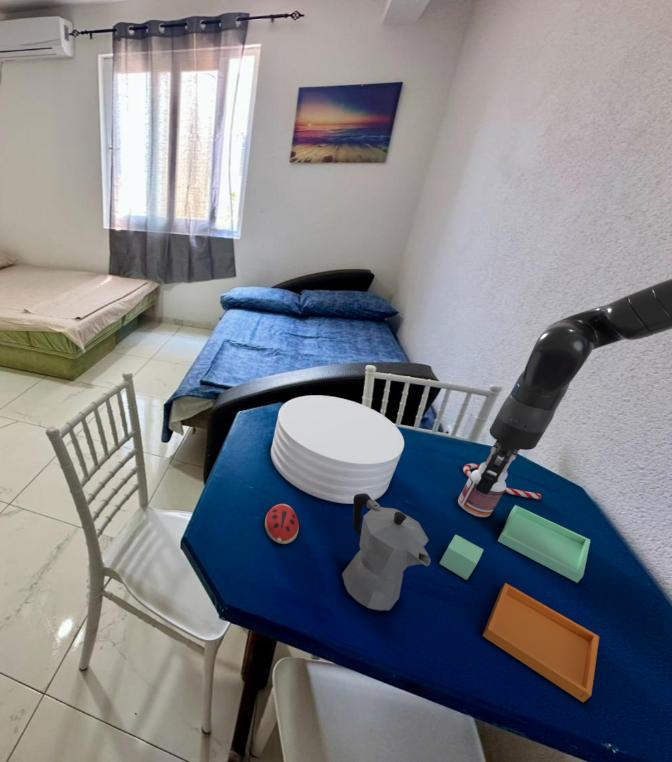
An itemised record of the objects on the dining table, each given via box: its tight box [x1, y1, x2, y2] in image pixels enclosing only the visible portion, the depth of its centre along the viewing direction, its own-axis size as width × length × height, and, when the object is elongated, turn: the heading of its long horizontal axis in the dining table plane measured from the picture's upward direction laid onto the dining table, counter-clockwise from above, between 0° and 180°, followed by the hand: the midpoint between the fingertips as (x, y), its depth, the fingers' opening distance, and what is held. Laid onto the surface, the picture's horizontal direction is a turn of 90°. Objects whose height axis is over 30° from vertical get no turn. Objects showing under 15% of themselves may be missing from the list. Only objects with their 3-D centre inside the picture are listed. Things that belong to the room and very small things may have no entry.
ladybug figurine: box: [264, 503, 300, 545], centre depth 83 cm, size 7×10×4 cm
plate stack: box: [270, 394, 405, 505], centre depth 100 cm, size 28×28×12 cm
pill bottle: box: [457, 461, 509, 518], centre depth 88 cm, size 6×6×11 cm
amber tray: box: [482, 582, 600, 704], centre depth 65 cm, size 12×12×2 cm
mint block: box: [438, 533, 484, 581], centre depth 76 cm, size 5×5×5 cm
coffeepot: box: [341, 493, 431, 611], centre depth 69 cm, size 15×9×18 cm, turn 16°
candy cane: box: [462, 463, 542, 500], centre depth 97 cm, size 8×1×15 cm
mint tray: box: [497, 504, 591, 584], centre depth 82 cm, size 12×12×2 cm
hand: (486, 482), depth 87 cm, fingers open, 8 cm apart
